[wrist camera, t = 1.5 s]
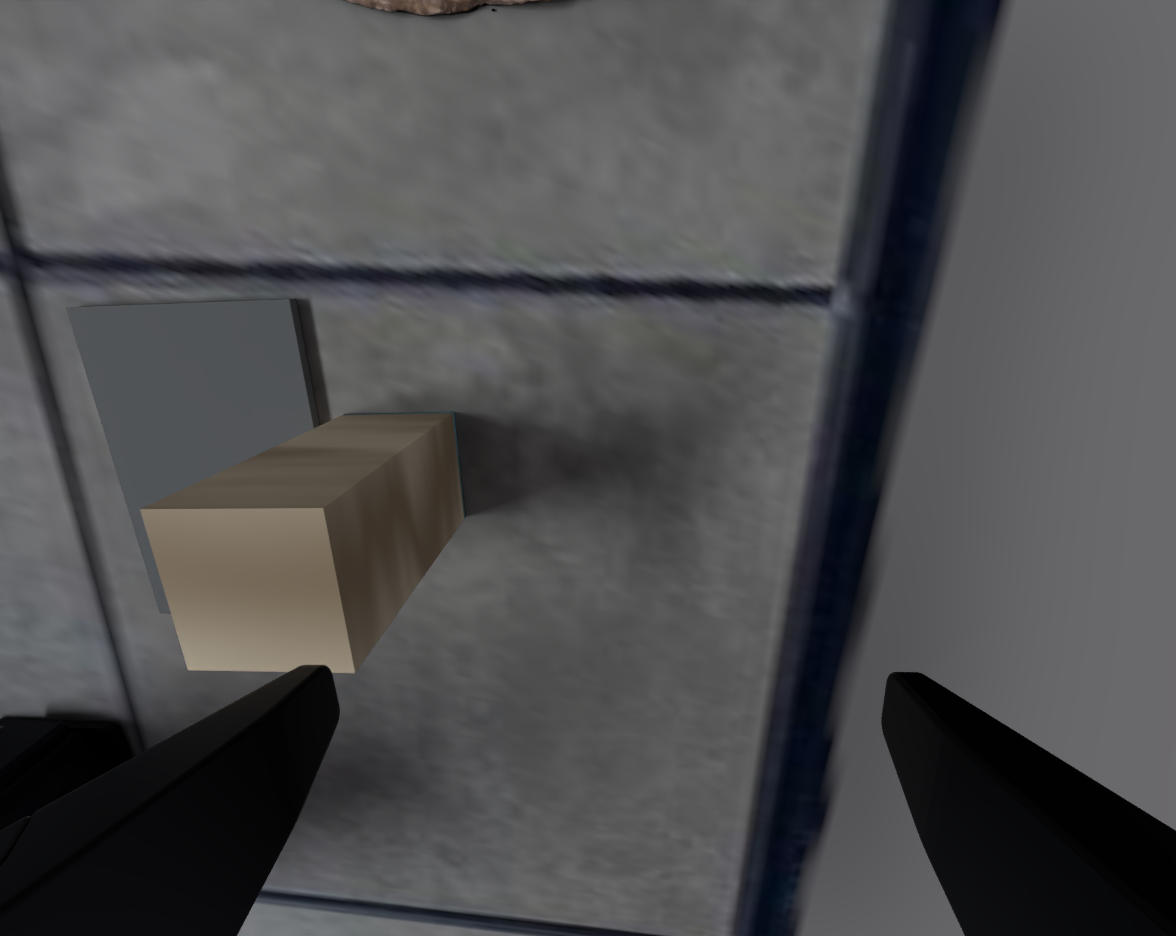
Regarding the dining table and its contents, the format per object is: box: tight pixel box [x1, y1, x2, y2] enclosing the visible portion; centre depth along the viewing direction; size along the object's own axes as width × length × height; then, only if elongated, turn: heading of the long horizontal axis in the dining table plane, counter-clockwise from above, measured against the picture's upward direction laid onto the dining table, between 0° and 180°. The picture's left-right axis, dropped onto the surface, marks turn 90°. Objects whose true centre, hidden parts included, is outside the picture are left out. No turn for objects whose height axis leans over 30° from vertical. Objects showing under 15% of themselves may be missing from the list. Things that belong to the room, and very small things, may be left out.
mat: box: [66, 299, 320, 613], centre depth 21 cm, size 12×8×1 cm, turn 2°
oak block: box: [140, 412, 466, 673], centre depth 17 cm, size 4×4×9 cm
